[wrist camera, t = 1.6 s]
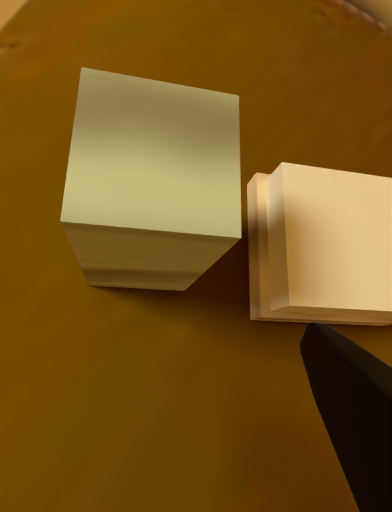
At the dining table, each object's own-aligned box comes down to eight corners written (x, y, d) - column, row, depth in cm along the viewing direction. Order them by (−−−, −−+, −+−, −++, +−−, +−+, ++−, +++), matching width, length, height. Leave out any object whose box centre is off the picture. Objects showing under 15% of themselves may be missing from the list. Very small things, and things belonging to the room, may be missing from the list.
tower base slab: (374, 326, 25) (400, 323, 23) (246, 320, 23) (261, 317, 21) (358, 203, 28) (380, 189, 26) (244, 188, 26) (256, 172, 24)
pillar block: (184, 290, 22) (241, 238, 12) (89, 285, 21) (60, 221, 11) (186, 206, 24) (238, 95, 14) (98, 196, 23) (81, 67, 12)
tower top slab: (394, 317, 23) (426, 313, 21) (270, 310, 21) (289, 305, 19) (378, 196, 25) (404, 179, 23) (265, 181, 24) (281, 162, 21)
